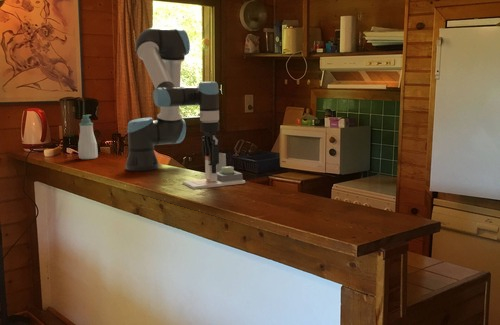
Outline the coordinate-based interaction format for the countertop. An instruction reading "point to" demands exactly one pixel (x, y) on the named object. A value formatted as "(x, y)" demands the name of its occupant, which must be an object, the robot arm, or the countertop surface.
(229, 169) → the button
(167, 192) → the countertop surface
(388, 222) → the countertop surface
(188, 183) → the board
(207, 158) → the grey and orange block
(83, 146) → the soap bottle
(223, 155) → the cup
